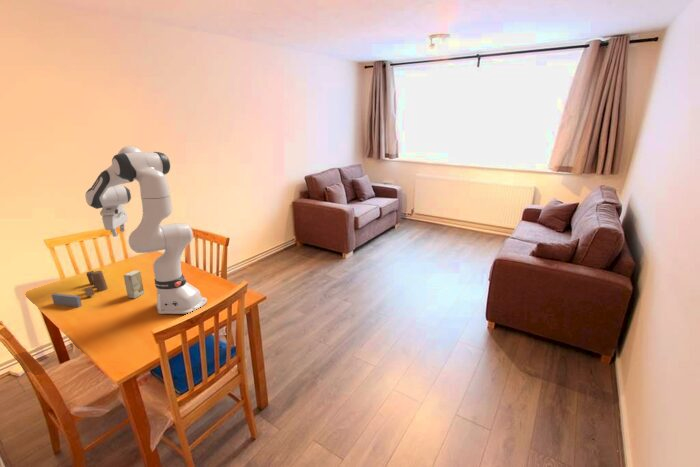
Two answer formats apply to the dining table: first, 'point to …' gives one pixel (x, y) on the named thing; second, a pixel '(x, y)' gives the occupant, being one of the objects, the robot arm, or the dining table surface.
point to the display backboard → (66, 300)
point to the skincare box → (133, 284)
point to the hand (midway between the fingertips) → (119, 233)
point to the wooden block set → (95, 282)
